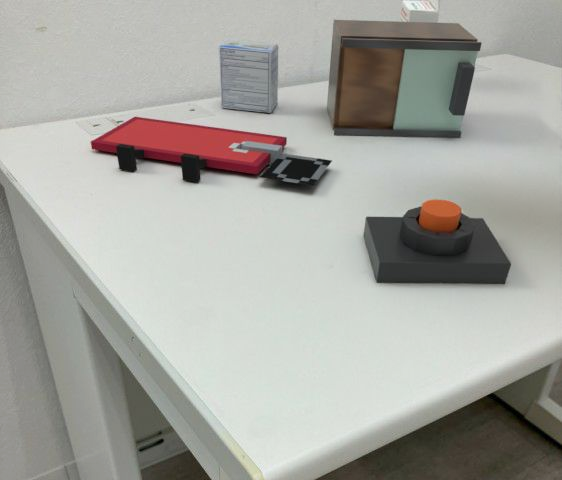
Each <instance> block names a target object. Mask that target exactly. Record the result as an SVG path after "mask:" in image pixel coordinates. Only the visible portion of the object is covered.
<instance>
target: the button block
mask: <svg viewBox="0 0 562 480" xmlns="http://www.w3.org/2000/svg"><path fill="white" fill-rule="evenodd" d="M421 207H422V205H421V206H418V207H414V208H410V209H408V210H407V211H406V212H405V213H404V214H403V216H365V221H364V227H363V228H364V229H363V239H364V243H365V247H366V250H367V254H368V257H369V261H370V265H371V268H372V272H373V276H374V278H375V283H377V284H447V285H448V284H449V285H451V284H453V285H455V284H456V285H457V284H458V285H459V284H460V285H463V284H464V285H465V284H466V285H467V284H468V285H505V284H506V282H507V279H508V276H509V273H510V269H511V266H512V262H511V261H510V260H509V257H508V256H507V255H506V253H505V252H504V250H503V248H502V246H501V245H500V244H499V241H498V240H497V238H496V237H495V235H494V233H493V232H492V231H491V228H490V227H489V225H488V224H487V223H486V221H485V219H484V218H483V217H470V216H468V215H466V214H465V213H463V212H461V215H460V219H459V223H458V227H457V230H456V231H452V232H436V231H432V230H428V229H425V228H423V227H422V226H420V225H419V217H420V212H421Z"/></svg>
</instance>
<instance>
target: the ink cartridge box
mask: <svg viewBox="0 0 562 480" xmlns="http://www.w3.org/2000/svg"><path fill="white" fill-rule="evenodd" d="M440 4H441V0H402V1H401V8H400V16H399V22H430V23H439V21H438V20H439V15H440Z"/></svg>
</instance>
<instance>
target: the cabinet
mask: <svg viewBox="0 0 562 480" xmlns="http://www.w3.org/2000/svg"><path fill="white" fill-rule="evenodd" d="M478 40H479V39H478V38H477V37H475V36H474V35H473V34H472V33H471V32H469V31H468V30H467V29H466V28H465V27H463V26H462V25H461V24H460V23H458V22H437V23H430V22H400V21H391V20H362V19H361V20H356V19H355V20H354V19H333V23H332V36H331V47H330V48H331V49H330V62H329V75H328V88H327V101H326V110H327V114H328V117H329V120H330V125H331V128H332V131H333V135H334V136H365V137H366V136H368V137H369V136H371V137H372V136H373V137H411V138H412V137H413V138H414V137H416V138H417V137H419V138H420V137H421V138H461V136H462V130H460V131H438V130H394V129H393V125H394V118H395V111H396V105H397V98H398V91H399V85H400V78H401V72H402V65H403V58H404V52H405V49H415V50H452V51H478V52H481V47H482V42H481V41H478Z"/></svg>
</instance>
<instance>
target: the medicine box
mask: <svg viewBox="0 0 562 480" xmlns="http://www.w3.org/2000/svg"><path fill="white" fill-rule="evenodd" d="M218 55H219V80H220V105H221V108H222V109H229V110H230V109H231V110H237V111H238V110H239V111H248V112H249V111H250V112H258V113H266V114H270V113H272V112H273V110H274V109H275V108H276V106H278V101H279V99H278V95H279V93H278V91H279V88H278V87H279V44H278V43H271V42H263V41H254V40H253V41H251V40H242V39H241V40H239V39H227V40H226V41H224V42H223V43H222V44H221V45H220V46H219V47H218Z"/></svg>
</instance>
